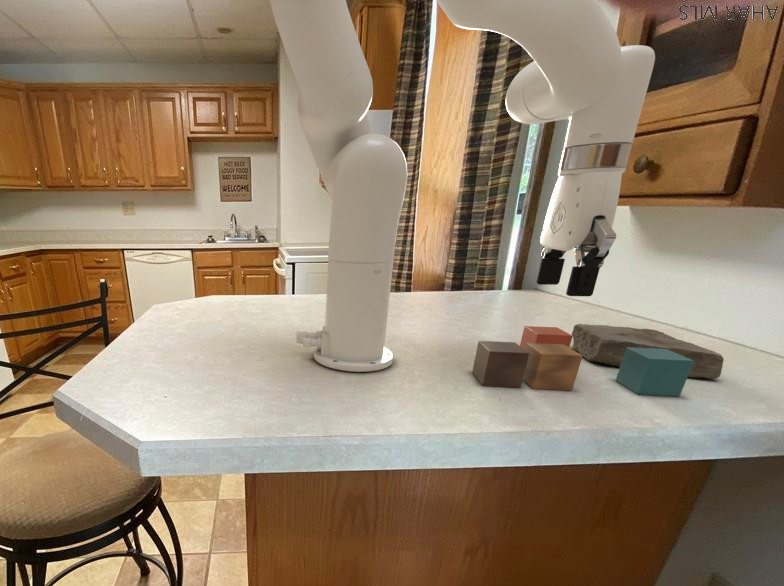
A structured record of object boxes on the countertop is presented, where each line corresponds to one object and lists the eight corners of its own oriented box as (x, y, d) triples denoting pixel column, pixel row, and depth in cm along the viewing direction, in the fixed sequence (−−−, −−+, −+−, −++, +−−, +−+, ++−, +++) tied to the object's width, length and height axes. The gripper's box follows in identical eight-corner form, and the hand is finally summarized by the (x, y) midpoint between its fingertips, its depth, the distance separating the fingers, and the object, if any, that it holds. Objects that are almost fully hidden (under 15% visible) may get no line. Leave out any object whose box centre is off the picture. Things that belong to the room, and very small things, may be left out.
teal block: (637, 394, 56) (650, 358, 54) (615, 380, 60) (626, 347, 59) (679, 396, 55) (694, 360, 53) (653, 382, 60) (666, 348, 58)
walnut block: (482, 385, 58) (489, 351, 57) (472, 372, 63) (478, 340, 61) (521, 387, 58) (529, 353, 56) (507, 374, 62) (515, 342, 60)
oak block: (532, 388, 58) (541, 353, 56) (518, 375, 62) (526, 342, 60) (572, 390, 57) (582, 355, 55) (554, 377, 62) (564, 344, 60)
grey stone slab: (720, 381, 60) (733, 353, 58) (602, 373, 63) (611, 346, 62) (652, 347, 75) (661, 324, 73) (560, 341, 78) (566, 319, 77)
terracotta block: (529, 365, 66) (537, 334, 64) (517, 355, 71) (524, 325, 69) (564, 366, 66) (573, 335, 64) (549, 356, 70) (557, 327, 68)
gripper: (535, 168, 66) (513, 280, 72) (598, 156, 50) (562, 301, 56) (588, 167, 65) (561, 280, 71) (669, 154, 49) (624, 301, 55)
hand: (561, 289), depth 64 cm, fingers open, 9 cm apart
